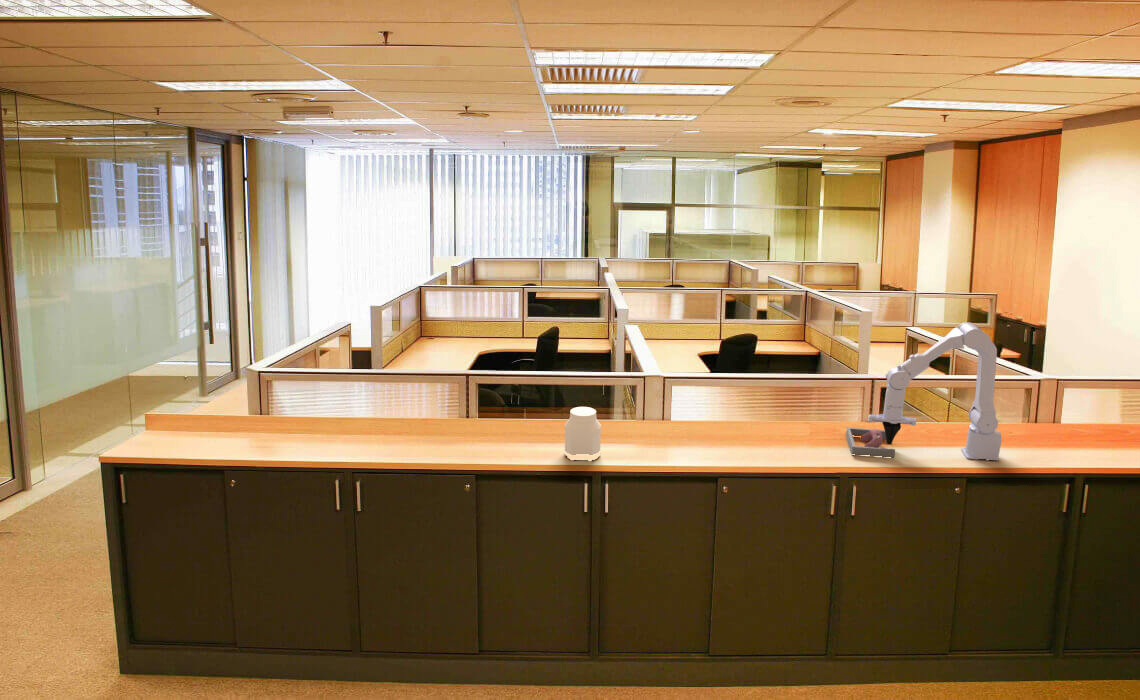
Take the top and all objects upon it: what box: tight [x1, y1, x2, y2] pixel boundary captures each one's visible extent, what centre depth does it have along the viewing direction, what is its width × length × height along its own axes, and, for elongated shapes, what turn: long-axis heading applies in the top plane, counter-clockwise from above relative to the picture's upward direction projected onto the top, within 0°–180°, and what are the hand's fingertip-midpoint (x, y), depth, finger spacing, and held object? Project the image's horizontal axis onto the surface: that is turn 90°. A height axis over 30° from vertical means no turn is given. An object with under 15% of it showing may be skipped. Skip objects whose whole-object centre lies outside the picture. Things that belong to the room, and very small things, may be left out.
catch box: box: [845, 426, 896, 459], centre depth 269 cm, size 13×17×3 cm
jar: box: [564, 406, 602, 455], centre depth 259 cm, size 12×10×15 cm
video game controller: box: [859, 427, 884, 448], centre depth 269 cm, size 10×5×7 cm, turn 167°
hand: (888, 443), depth 268 cm, fingers closed
